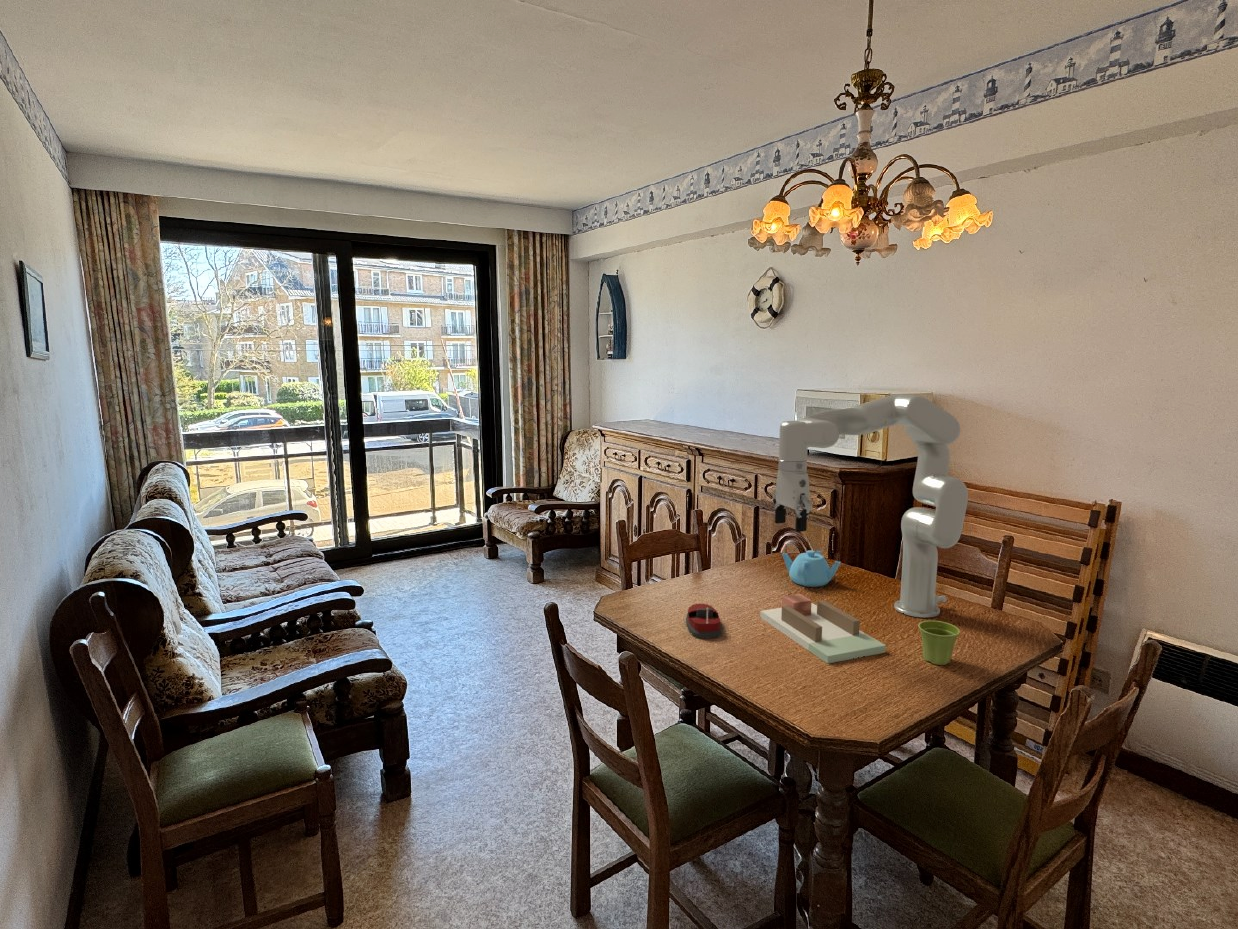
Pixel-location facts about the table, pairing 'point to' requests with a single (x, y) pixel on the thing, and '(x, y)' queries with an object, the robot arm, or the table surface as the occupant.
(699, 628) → the bumper car
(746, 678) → the table surface
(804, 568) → the teapot
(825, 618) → the board with rails
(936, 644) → the plant pot
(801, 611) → the block
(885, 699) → the table surface
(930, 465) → the robot arm
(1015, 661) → the table surface
